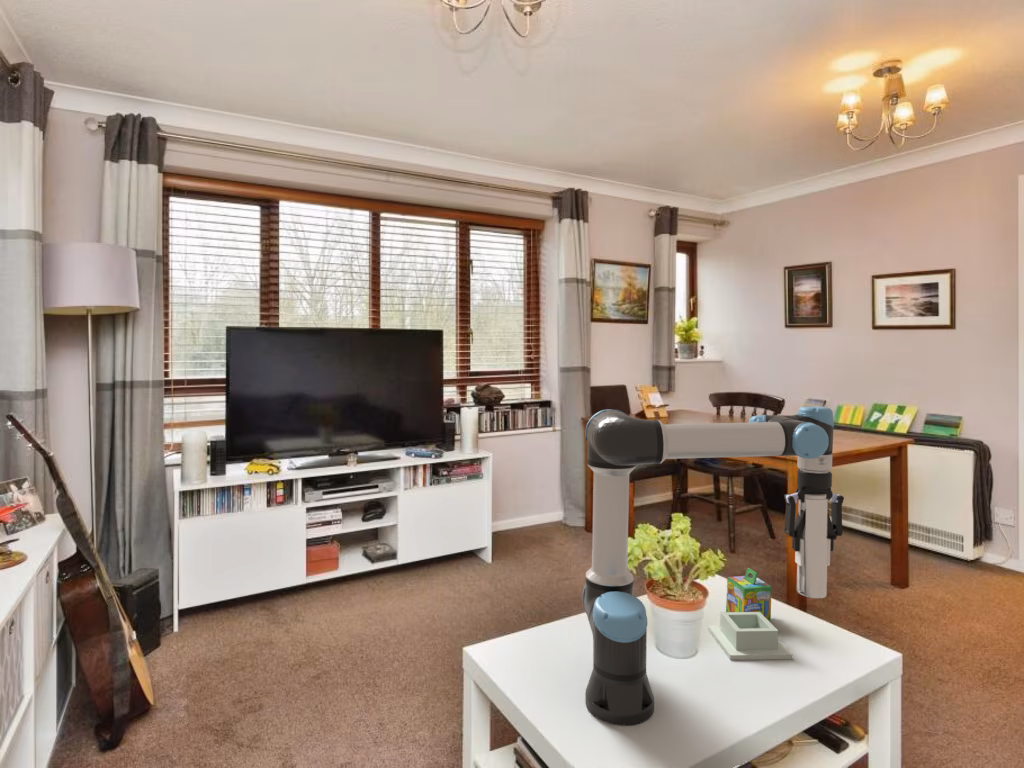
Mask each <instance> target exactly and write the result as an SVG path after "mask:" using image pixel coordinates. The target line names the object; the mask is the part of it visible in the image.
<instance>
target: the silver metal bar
mask: <svg viewBox="0 0 1024 768" xmlns="http://www.w3.org/2000/svg"><path fill="white" fill-rule="evenodd" d="M797 502H798V507H797V508H798V510H797V511H799V515H801V512H802V510H805V509H806V524H805V527H804V530H803V533H802V536H801V538H803V539H804V566H800V565H799V564H797V563H796V567H797V569H796V592H797V594H799V595H801V596H804V597H806V598H810V599H823V598H826V597H827V596H828V595H827V594H828V592H827V591H828V590H827V585H828V566H827V551H828V509H829V503H830V500H829V498H827V499H826V494H805V501H804V503H802V501H801V500H800V499H798V501H797Z"/></svg>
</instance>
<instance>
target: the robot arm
mask: <svg viewBox="0 0 1024 768" xmlns="http://www.w3.org/2000/svg"><path fill="white" fill-rule="evenodd" d="M833 412H834V411H833V409H831V408H829V407H827V406H817V405H814V406H813V405H812V406H811V405H808V406H807V405H806V406H804V405H803V406H800V407H799V408H798V412H797V414H793V415H792V414H791V415H786V414H785V415H784V414H783V415H782V414H781V415H780V414H779V415H778V414H777V415H771V414H762V415H761V414H760V415H759V414H758V415H753V416H751V417H750V418H749V420H748V422H714V423H674V424H673V423H671V424H670V423H669V424H664V423H663V422H662V421H661V420H660V419H641V418H638V417H637V418H636V417H633V416H629V415H628V414H627V413H625V412H623V411H621V410H619V409H613V408H612V409H602V410H600V411H598V412H596V413H594V414H593V415H592V416H590V418H589V420H588V422H587V423H586V425H585V432H584V433H585V434H584V436H585V441H586V442H587V466H588V467H589V469H590V470H591V471H592V472H593V484H592V485H593V486H592V488H593V489H592V494H593V495H592V549H591V567H590V568H589V569H588V570H586V572H585V582H584V583H585V584H584V587H583V591H582V595H581V596H582V599H581V600H582V606H583V609H584V612H585V614H586V617H587V621H588V623H589V626H590V631H591V632H592V638H593V639H592V640H593V643H592V645H593V646H592V647H593V649H592V650H593V651H592V652H593V653H592V657H593V658H592V660H593V664H592V665H593V666H592V667H593V668H592V671H591V674H590V677H589V680H588V683H587V685H586V689H585V693H584V695H585V699H584V700H585V706H586V708H587V710H588V711H589V713H590V714H591V715H593V716H594V717H596V719H598V720H599V721H600V720H601V721H602V722H605V723H607V724H610V725H615V726H625V727H626V726H635V725H640V724H642V723H644V722H646V721H648V720H649V719H650V718H651V717H652V716H653V715H654V711H655V696H654V692H653V690H652V687H651V683H650V681H649V677H648V673H647V642H648V641H647V640H648V639H647V637H648V636H647V634H648V633H647V632H648V631H647V629H648V616H647V609H646V607H645V605H644V603H643V601H641V600H640V599H639V597H637V596H634V575H633V574H632V573H631V572H630V571H629V570H628V552H629V549H628V548H629V512H630V511H629V510H630V509H629V503H630V500H629V499H630V474H631V473H632V472H633V471H634V469H636V468H637V466H638V465H639V466H640V465H642V466H643V465H658V464H659V465H661V464H662V463H663V462H664V461H665V460H669V459H670V460H671V459H672V460H673V459H675V460H676V459H703V458H704V459H708V458H709V459H710V458H711V459H713V458H716V459H717V458H748V457H749V458H750V457H796V456H797V463H796V465H797V466H796V467H797V468H798V470H797V471H796V474H797V475H796V478H797V479H796V485H797V488H796V490H795V492H794V493H791V494H789V493H786V494H784V495H783V496H784V497H783V498H784V500H785V517H784V529H783V532H784V533H785V534H786V535H788V536H789V537H790V538H792V539H791V541H792V542H791V549H792V551H794V552H795V553H794V562H795V563H796V565H797V564H799V565H800V566H804V539H803V538H801V536H802V533H803V530H804V527H805V524H806V509H805V510H802V512H801V515H799V511H798V510H797V506H796V504H797V502H798V500H799V499H800V500H801V501H802V503H804V501H805V494H826V499H827V498H829V501H830V502H831V503H830V508H831V512H829V511H830V510H829V508H828V551H827V567H829V566H830V565H831V552H833V551H834V543H835V542H834V541H836V540H837V537H841V536H842V535H843V509H842V508H843V504H844V499H845V497H844V496H843V495H841V494H838V493H833V491H832V486H833V473H832V470H833V451H834V450H833V449H834V448H833V445H834V443H833V442H834V429H835V425H834V413H833ZM796 510H797V511H798V512H797V515H796ZM830 513H831V516H830Z"/></svg>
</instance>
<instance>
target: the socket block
mask: <svg viewBox="0 0 1024 768" xmlns="http://www.w3.org/2000/svg"><path fill="white" fill-rule="evenodd" d="M719 614H720V615H719V616H720V619H719V620H720V622H719V623H720V624H719V625H708V626H707V631H708V632H709V633H710V635H711V636H712V637H713V639H714V640H715V642H716V643H717V644H718V645H719V647H720V648H721V649H722V651H723V653H724V654H725V655H726V656H727V658H728V659H729V660H730V661H735V660H736V661H737V660H738V661H746V660H747V661H749V660H752V661H753V660H793V654H792V652H791V651H790V650H789V649H788V648H787V647H786V646H785V645H784V644H783V643H782V642H781V641H780V640H779V630H778V629H777V628H776V627H775V626H774V625H773V624H772V623H770V622H769V621H768V620H767V619H766V618H765V617H764V616H763V615H762V614H761V613H760V612H726V611H724V612H723V611H722V612H721V611H720V613H719Z"/></svg>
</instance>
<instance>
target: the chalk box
mask: <svg viewBox="0 0 1024 768" xmlns="http://www.w3.org/2000/svg"><path fill="white" fill-rule="evenodd" d="M750 574H751V575H750ZM726 581H727V582H726V602H725V603H726V605H725V608H726V609H725V612H760V613H761V614H762V615H763V616H764V617H765V618H766V619H767V620H768V621H769V622H770V623H771V620H772V619H771V617H772V615H771V613H772V591H773V587H772V585H770V584H768V583H767V582H766V581H764V580H763V579H761V578H760V577H758V572H757V571H754V570H753V569H751V568H749V567H747V568H746V571H745V574H744V575H740V576H728V577H726ZM771 624H772V623H771Z"/></svg>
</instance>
